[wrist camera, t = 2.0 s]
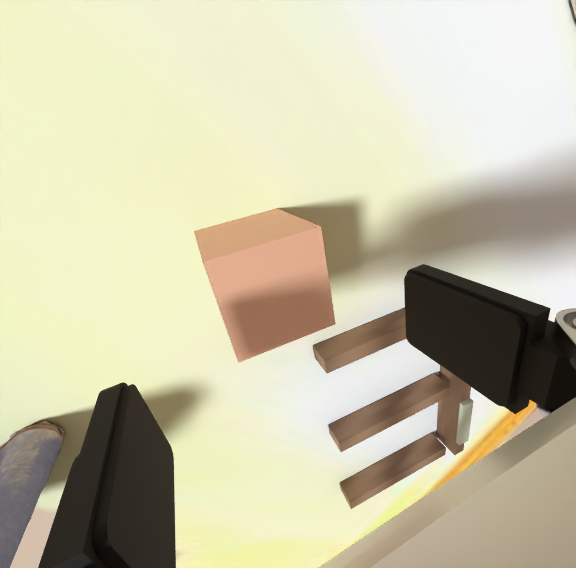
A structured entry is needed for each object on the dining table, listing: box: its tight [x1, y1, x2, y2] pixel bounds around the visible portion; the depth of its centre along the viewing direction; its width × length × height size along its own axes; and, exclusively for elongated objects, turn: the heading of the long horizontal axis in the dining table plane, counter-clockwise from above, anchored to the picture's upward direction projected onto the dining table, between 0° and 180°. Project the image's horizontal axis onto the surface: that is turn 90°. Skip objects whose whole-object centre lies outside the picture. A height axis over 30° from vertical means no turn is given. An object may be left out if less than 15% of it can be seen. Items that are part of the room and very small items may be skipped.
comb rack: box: [313, 308, 473, 509], centre depth 26 cm, size 14×20×3 cm
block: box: [194, 209, 335, 363], centre depth 15 cm, size 5×5×6 cm
